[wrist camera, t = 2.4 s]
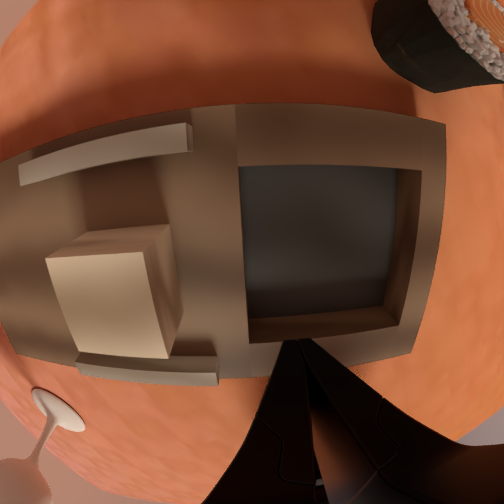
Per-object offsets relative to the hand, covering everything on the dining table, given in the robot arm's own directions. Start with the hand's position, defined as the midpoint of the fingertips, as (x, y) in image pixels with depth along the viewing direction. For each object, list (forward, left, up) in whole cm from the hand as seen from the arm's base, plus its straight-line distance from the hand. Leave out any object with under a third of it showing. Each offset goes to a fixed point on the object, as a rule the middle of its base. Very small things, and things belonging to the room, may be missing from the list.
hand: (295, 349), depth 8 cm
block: (0, +8, -6) cm, 10 cm away
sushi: (+15, -11, -10) cm, 21 cm away
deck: (0, +7, -9) cm, 11 cm away
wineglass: (-21, +28, -10) cm, 36 cm away
